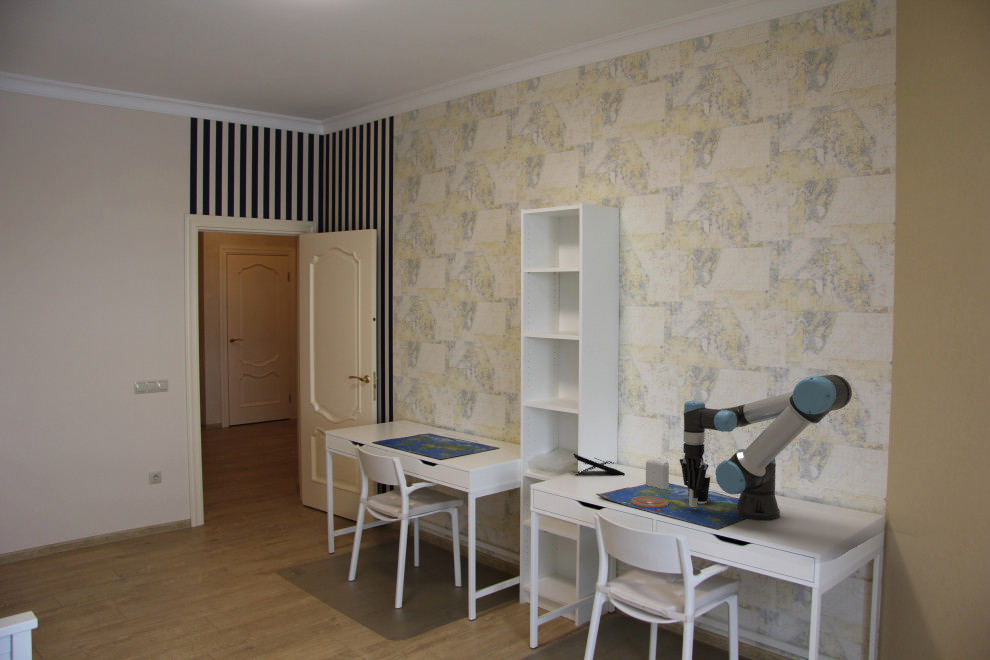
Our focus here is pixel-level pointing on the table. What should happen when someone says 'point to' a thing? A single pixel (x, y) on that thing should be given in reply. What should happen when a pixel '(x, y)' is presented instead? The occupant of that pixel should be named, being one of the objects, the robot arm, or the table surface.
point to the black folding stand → (597, 465)
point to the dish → (650, 501)
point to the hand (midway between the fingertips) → (693, 506)
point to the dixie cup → (704, 490)
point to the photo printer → (657, 473)
